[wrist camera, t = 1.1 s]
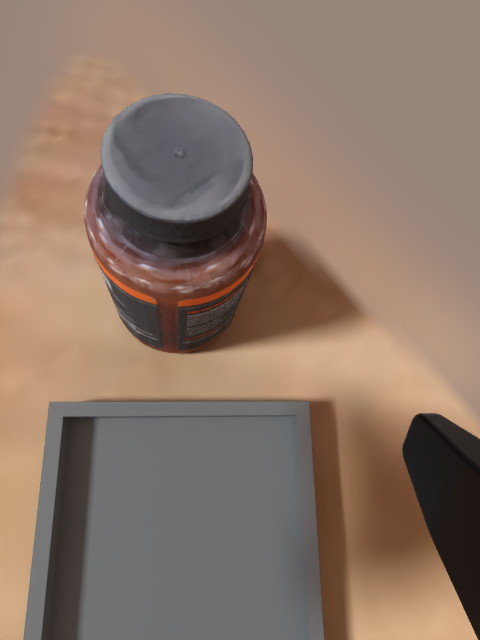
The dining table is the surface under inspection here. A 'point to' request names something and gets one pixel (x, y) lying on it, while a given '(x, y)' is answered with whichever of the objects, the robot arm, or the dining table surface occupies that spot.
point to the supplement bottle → (175, 219)
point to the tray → (176, 523)
